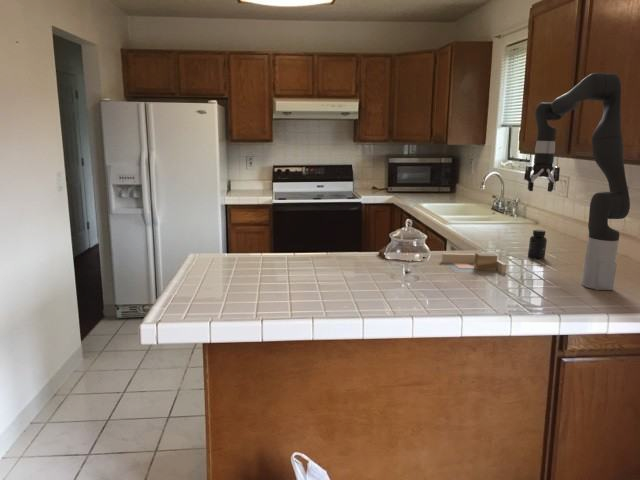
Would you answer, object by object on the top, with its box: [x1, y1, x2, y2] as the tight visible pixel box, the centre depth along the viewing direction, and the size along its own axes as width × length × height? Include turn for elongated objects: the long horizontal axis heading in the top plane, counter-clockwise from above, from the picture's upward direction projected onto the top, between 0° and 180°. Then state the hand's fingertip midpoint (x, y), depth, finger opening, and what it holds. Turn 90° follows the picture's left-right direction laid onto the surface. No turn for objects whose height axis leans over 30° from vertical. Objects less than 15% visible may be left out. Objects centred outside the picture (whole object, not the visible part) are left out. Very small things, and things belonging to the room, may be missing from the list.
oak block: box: [474, 252, 498, 271], centre depth 198 cm, size 4×7×6 cm, turn 95°
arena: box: [440, 252, 508, 275], centre depth 202 cm, size 18×19×4 cm
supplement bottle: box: [527, 229, 548, 260], centre depth 223 cm, size 7×7×12 cm
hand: (540, 191), depth 220 cm, fingers open, 8 cm apart
